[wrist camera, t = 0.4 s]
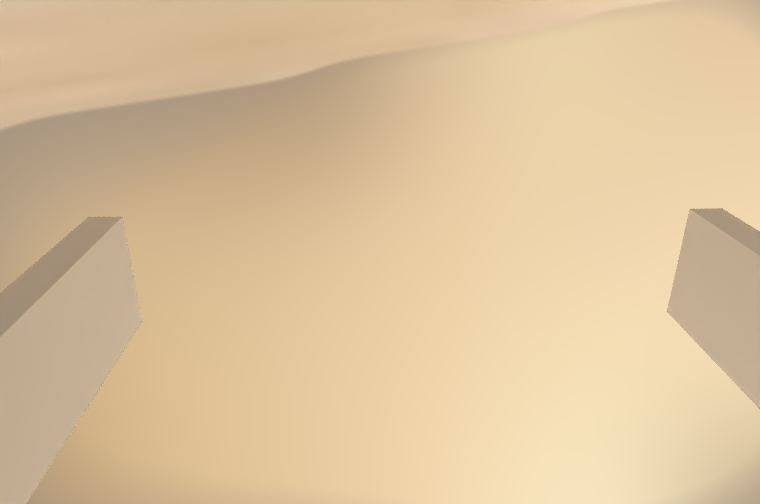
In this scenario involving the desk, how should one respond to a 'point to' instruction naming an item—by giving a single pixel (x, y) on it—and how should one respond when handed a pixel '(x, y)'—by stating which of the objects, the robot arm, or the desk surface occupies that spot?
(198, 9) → the desk surface
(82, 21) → the desk surface
